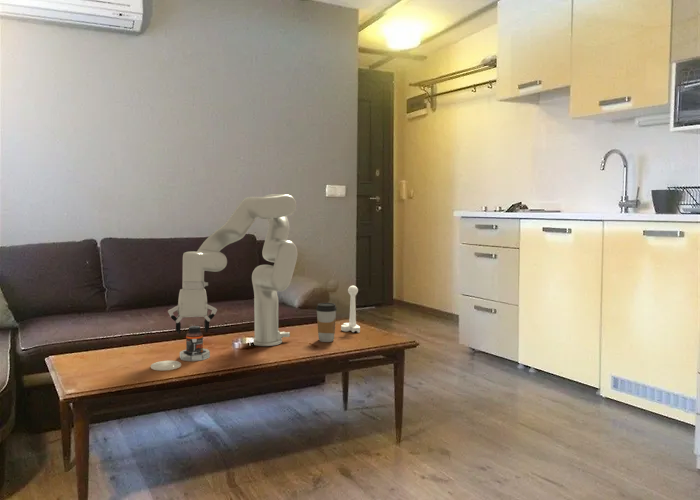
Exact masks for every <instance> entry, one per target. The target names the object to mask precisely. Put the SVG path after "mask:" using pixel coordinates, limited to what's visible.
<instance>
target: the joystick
mask: <svg viewBox="0 0 700 500" xmlns="http://www.w3.org/2000/svg"><path fill="white" fill-rule="evenodd" d="M347 293H348V294H349V296H350V297H349V298H350V299H349V300H350V301H349V322H343V324H341V325H340V329H341V331H342V332H350V331H351V333H355V332H356V333H360V332H361V326H360V325H359V324H357V314H356V313H357V312H356V311H357V310H356V309H357V306H356V296H357V295H358V293H359V288H358V287H357V286H356V285H350V286H349V287H348V288H347Z"/></svg>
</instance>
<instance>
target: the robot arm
mask: <svg viewBox="0 0 700 500" xmlns="http://www.w3.org/2000/svg"><path fill="white" fill-rule="evenodd" d="M296 209H297V201H296V199H295V198H294V197H293V196H292V195H290V194H286V193H285V194H284V193H283V194H281V193H280V194H279V193H278V194H277V193H271V194H266V195H264V196H247V197H245V198H244V199H243V200H242V201H241V202H240V203H239V204H238V206H237V207H236V209H235V210H234V211H233V212H232V214H231V215H230V217H229V218H228V219H227V221H226V222H225V223H224V224H223V225H222V226H220V227H219V228H218V229H216V230H215V231H214V232H213V233H212V234H210V235H209V236H208V237H207V238H206V239H205V240H204V241H203V243H202V244H201V245H200V246H199V247H198V249H197V251H186V252H183V255H182V288H180V289H179V293H178V300H177V301H178V302H177V305H176V306H173V307H172V308H170V309H168V310H167V313H168V314H169V317H170V319H172V321H174V322H175V332H177V334H178V335H181V332H182V331H181V329H182V327H181V324H182V323H181V321H182V320H183V318H202V317H203V318H204V325H203V326H204V327H203V328H204V332H205V333H208V332H209V331H208V330H210V322H211V320H212V319H213V318H214V317H215V315H216V313H217V311H218V309H217V308H216V307H215V306H212V305H210V304H208V296H207V291H206V289H205V287H208V286H209V282H206V281H205V271H206V272H215V273H216V272H221V271H223V270H224V269H225V268H226V267H227V264H228V259H227V257H226V254H224V253H223V252H221V250H223V249H224V248H225V247H227V246H228V245H230V244H233V243H236V242H238V241H240V240H241V239H244V237H245V236H246V234H247V233H248V232H249V230H250V229H251V227H252V226H253V224H254V223H255V221H256V220H268V228H267V231H266V235H265V240H264V243H263V247H262V252H261V253H262V258H263V259H264V260H265V261H267V262H270V263H274V264H273V265H271V264H260V265H257V266H256V267H255V268H254V270H253V271H252V274H251V283H252V288H253V295H254V296H253V297H254V298H253V300H254V301H253V303H254V304H253V305H254V307H253V308H254V309H253V310H254V311H253V312H254V314H253V315H254V318H253V320H254V326H253V327H254V337H252V339H254V342H253V343H254V346H256V347H257V346H258V347H272V346H278V345H280V344H282V343H283V338H289V337H291V332H290V331H287V332H286V331H280V330H279V296H278V292H283V291H285V290H287V288H289V287H290V284H291V282H292V278H293V275H294V271H295V268H296V264H297V261H298V260H297V259H298V247H297V246H296V244H295V243H294V242H293V241H292V240H288V238H289V233H290V228H291V227H290V222H289V218H288V216H292V215H293V214H294V213H295V212H296ZM209 310H211V312H210V314H208V311H209ZM175 312H177V314H178V315H177V316H175V314H174V313H175Z"/></svg>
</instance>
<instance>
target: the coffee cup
mask: <svg viewBox="0 0 700 500" xmlns="http://www.w3.org/2000/svg"><path fill="white" fill-rule="evenodd" d="M336 315H337V306H336V303H334V302H320V303H317V306H316V316H317V317H316V320H317V321H316V322H317V335H318V340H319V342H322V343H330V342H333V341H334V339H335V333H336V321H337V320H336Z"/></svg>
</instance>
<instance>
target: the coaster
mask: <svg viewBox="0 0 700 500" xmlns="http://www.w3.org/2000/svg"><path fill="white" fill-rule="evenodd" d="M181 366H182V363H181V362H180V361H178V360H162V361H161V360H160V361H157V362H153V363H151V365H150V370H154V371H158V372H159V371H172V370H177V369H178V368H181Z"/></svg>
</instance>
